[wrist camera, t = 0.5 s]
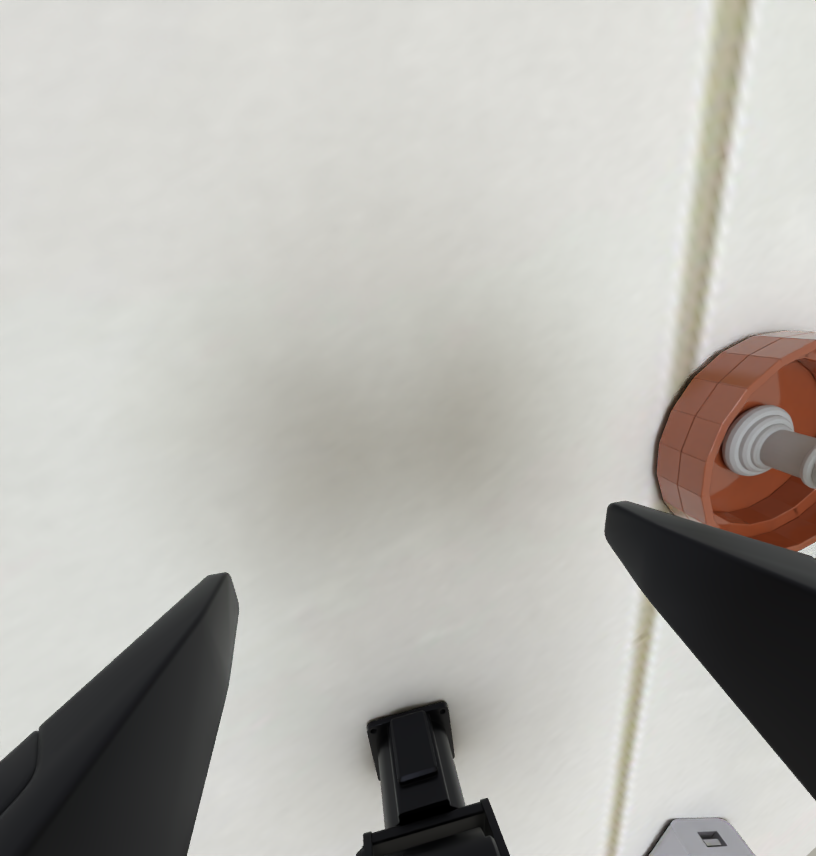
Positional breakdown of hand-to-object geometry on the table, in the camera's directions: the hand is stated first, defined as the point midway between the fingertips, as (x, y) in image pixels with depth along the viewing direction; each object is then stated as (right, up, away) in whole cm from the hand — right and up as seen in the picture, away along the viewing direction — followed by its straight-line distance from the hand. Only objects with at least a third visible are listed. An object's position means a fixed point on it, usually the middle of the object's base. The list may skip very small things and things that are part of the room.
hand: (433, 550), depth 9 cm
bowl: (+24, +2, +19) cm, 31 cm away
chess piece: (+24, +2, +19) cm, 31 cm away
